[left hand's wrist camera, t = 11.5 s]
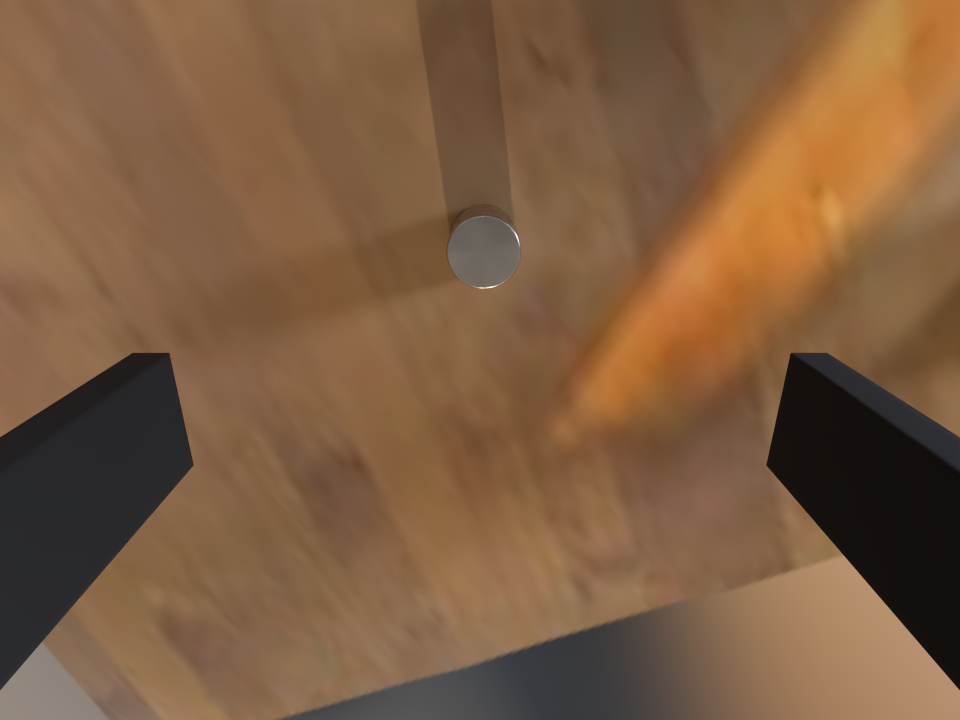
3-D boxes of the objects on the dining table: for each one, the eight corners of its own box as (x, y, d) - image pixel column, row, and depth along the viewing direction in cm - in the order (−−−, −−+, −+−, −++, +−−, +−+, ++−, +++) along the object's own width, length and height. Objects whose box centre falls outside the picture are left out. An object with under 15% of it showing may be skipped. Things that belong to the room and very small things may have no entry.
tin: (452, 202, 31) (447, 212, 27) (518, 206, 31) (523, 217, 27) (449, 268, 32) (445, 287, 29) (513, 271, 33) (517, 290, 29)
